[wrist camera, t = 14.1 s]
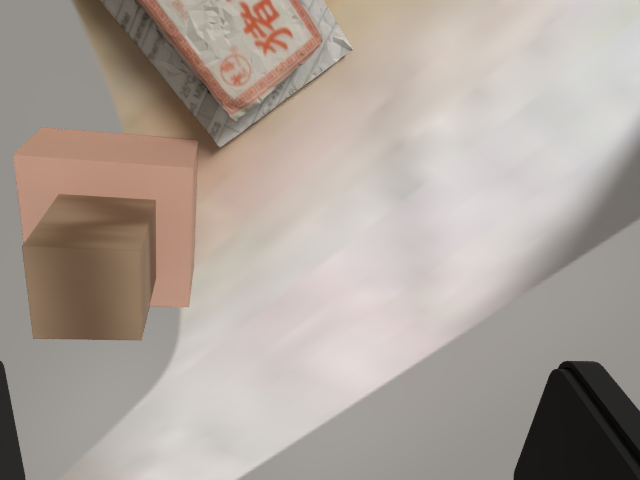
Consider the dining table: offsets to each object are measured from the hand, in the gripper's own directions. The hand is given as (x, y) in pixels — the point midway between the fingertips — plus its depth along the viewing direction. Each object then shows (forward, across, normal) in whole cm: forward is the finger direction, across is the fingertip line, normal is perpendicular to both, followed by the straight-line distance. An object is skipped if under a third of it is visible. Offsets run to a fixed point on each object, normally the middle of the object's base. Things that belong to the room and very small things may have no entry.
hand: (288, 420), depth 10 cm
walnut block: (+22, +8, +8) cm, 25 cm away
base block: (+27, +9, +8) cm, 29 cm away
